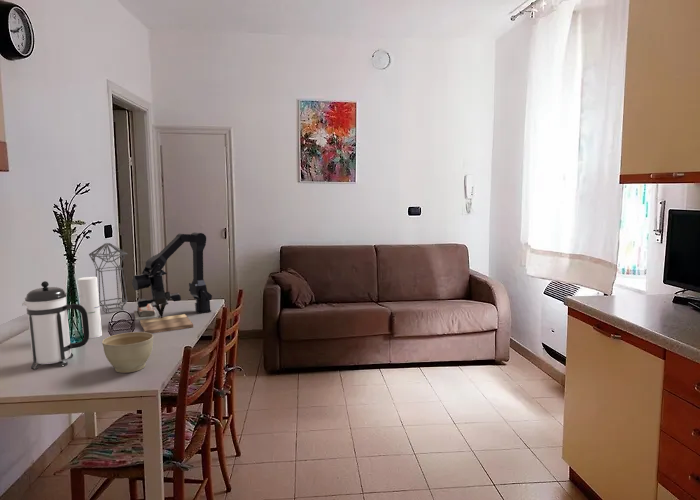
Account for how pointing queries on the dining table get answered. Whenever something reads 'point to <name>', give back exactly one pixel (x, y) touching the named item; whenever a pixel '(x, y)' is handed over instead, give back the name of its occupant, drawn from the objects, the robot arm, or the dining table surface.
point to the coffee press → (51, 325)
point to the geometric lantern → (110, 270)
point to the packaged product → (145, 313)
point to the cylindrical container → (91, 304)
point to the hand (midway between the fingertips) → (161, 317)
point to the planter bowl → (128, 350)
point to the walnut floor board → (167, 325)
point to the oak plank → (162, 318)
